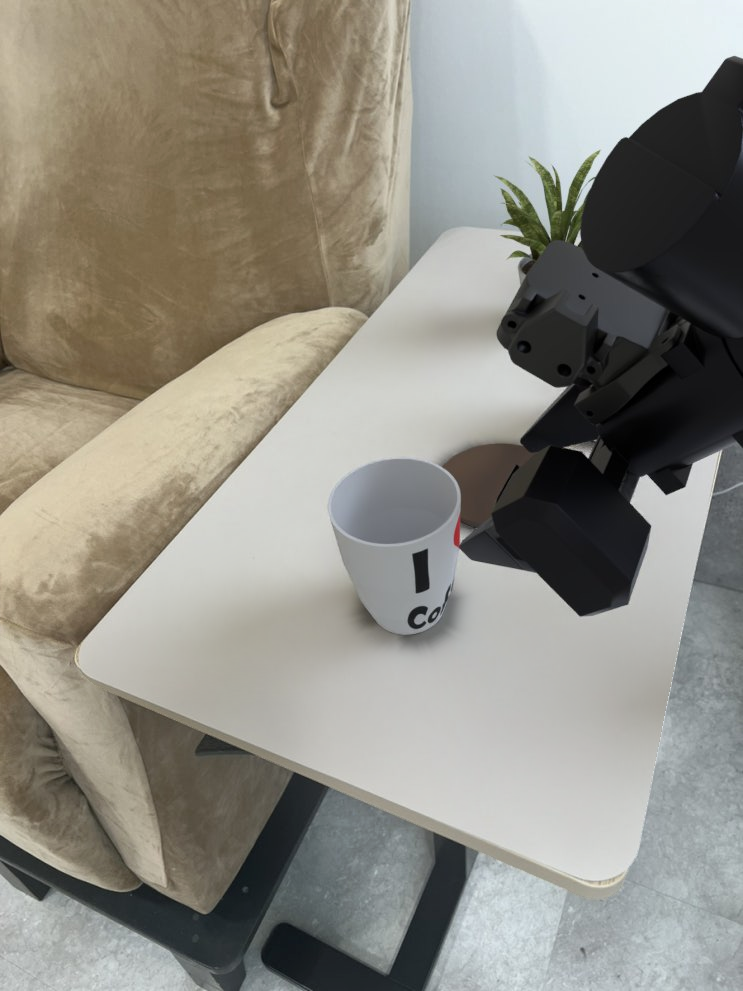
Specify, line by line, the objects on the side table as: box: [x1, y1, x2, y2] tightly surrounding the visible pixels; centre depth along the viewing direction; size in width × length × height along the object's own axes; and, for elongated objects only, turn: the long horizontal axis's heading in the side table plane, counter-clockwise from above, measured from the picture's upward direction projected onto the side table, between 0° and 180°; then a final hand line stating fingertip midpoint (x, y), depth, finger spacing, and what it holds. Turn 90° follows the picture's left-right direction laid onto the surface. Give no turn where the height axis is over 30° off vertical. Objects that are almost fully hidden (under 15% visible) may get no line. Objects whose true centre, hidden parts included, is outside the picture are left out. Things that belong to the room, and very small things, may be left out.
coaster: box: [441, 442, 536, 528], centre depth 61 cm, size 10×10×1 cm
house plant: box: [494, 149, 602, 286], centre depth 74 cm, size 14×14×16 cm
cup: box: [327, 456, 461, 636], centre depth 50 cm, size 8×8×10 cm
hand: (497, 495), depth 42 cm, fingers open, 9 cm apart
